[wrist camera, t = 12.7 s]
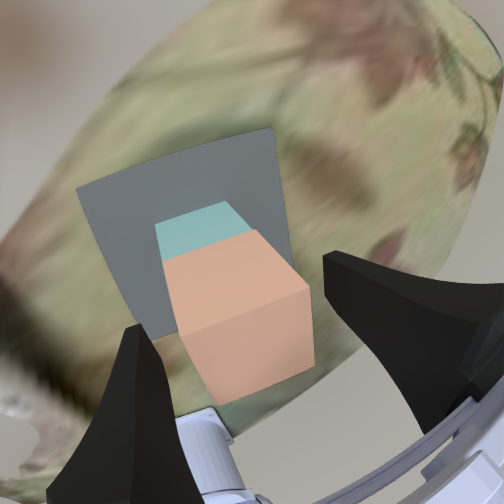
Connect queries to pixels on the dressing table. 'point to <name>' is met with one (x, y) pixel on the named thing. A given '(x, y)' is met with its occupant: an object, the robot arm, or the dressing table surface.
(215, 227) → the teal brick
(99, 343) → the dressing table surface
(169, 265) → the peach block
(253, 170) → the mat
